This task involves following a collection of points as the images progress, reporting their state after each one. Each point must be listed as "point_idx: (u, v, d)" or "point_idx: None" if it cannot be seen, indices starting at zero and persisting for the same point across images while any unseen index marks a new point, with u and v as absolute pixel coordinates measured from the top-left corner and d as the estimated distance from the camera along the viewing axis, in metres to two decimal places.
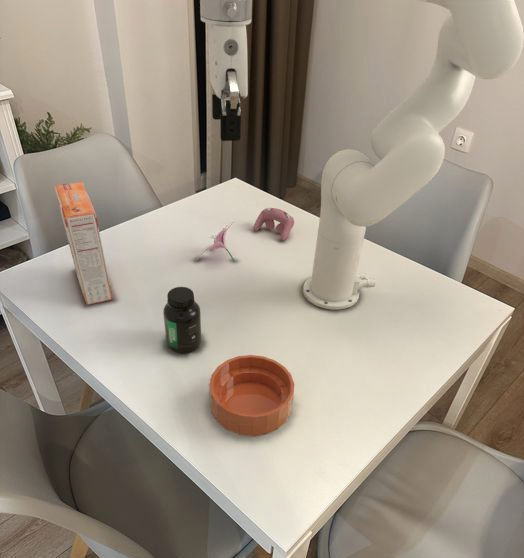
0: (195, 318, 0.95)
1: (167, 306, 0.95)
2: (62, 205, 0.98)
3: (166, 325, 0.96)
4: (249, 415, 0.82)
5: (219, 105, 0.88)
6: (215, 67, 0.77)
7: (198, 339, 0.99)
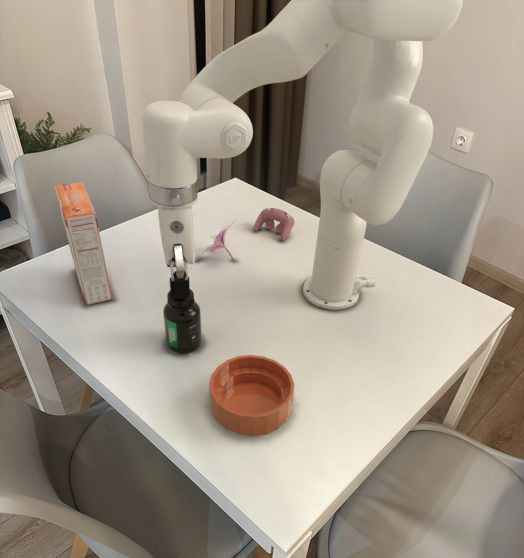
0: (195, 318, 0.95)
1: (167, 306, 0.95)
2: (62, 205, 0.98)
3: (166, 325, 0.96)
4: (249, 415, 0.82)
5: None
6: (163, 241, 0.81)
7: (198, 339, 0.99)
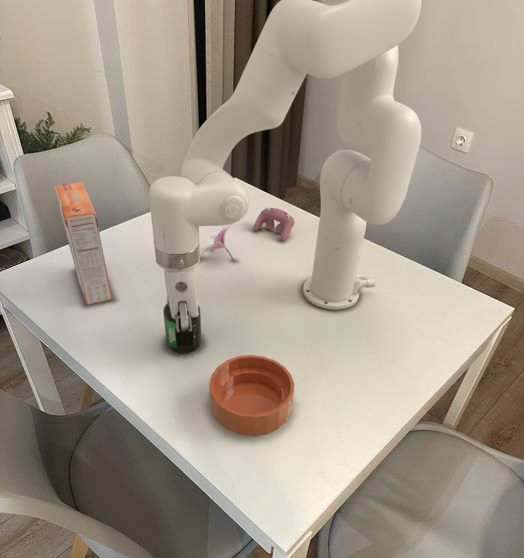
0: (195, 318, 0.95)
1: (167, 306, 0.95)
2: (62, 205, 0.98)
3: (166, 325, 0.96)
4: (249, 415, 0.82)
5: None
6: (169, 298, 0.89)
7: (198, 339, 0.99)
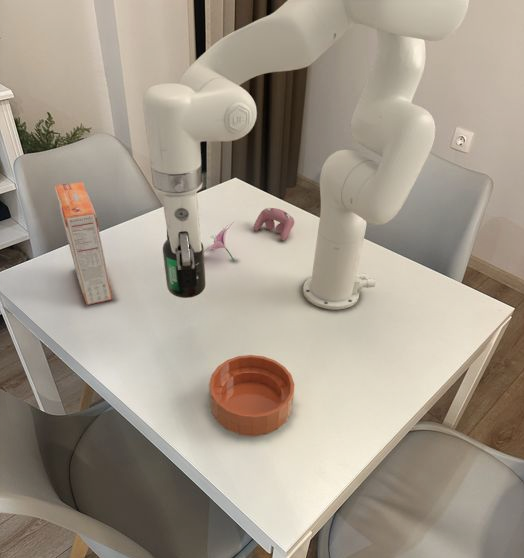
0: (198, 256, 0.85)
1: (167, 242, 0.85)
2: (62, 205, 0.98)
3: (166, 264, 0.86)
4: (249, 415, 0.82)
5: None
6: (168, 229, 0.79)
7: (202, 281, 0.90)
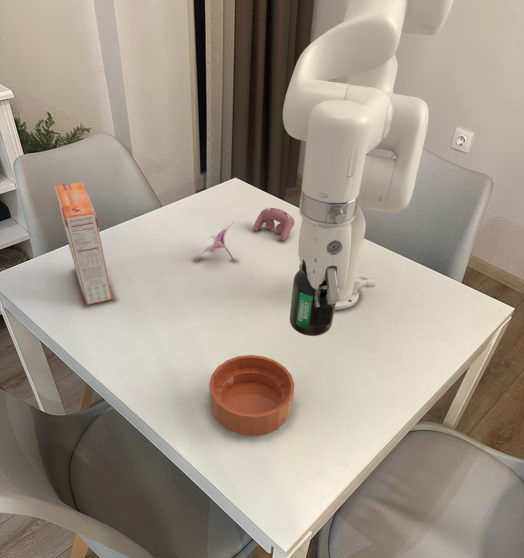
0: None
1: (300, 275, 0.76)
2: (62, 205, 0.98)
3: (297, 299, 0.77)
4: (249, 415, 0.82)
5: None
6: (314, 263, 0.70)
7: (332, 318, 0.80)
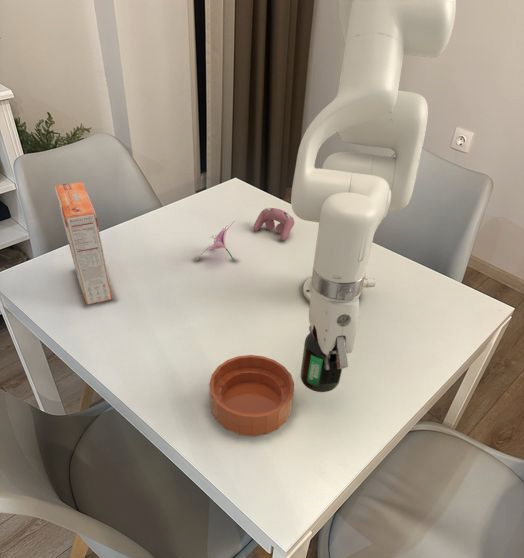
0: None
1: (311, 339, 0.83)
2: (62, 205, 0.98)
3: (308, 360, 0.83)
4: (249, 415, 0.82)
5: None
6: (324, 332, 0.77)
7: (340, 375, 0.87)
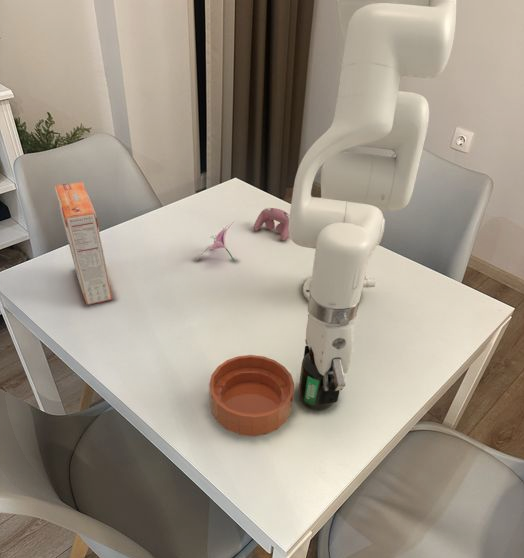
0: None
1: (308, 361, 0.86)
2: (62, 205, 0.98)
3: (305, 381, 0.87)
4: (249, 415, 0.82)
5: None
6: (321, 354, 0.80)
7: None
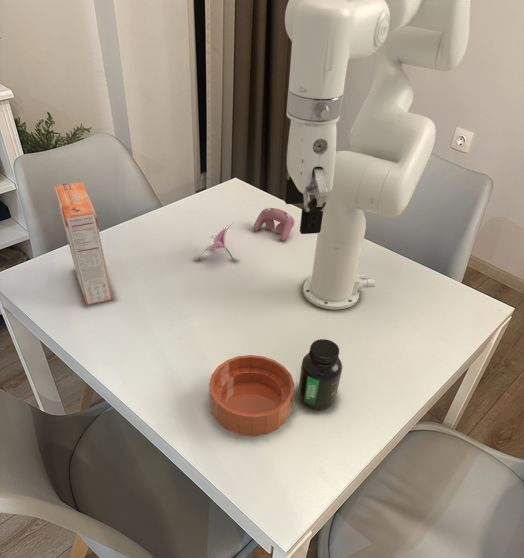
0: (339, 374, 0.86)
1: (308, 361, 0.86)
2: (62, 205, 0.98)
3: (305, 381, 0.87)
4: (249, 415, 0.82)
5: (293, 191, 0.84)
6: (301, 164, 0.73)
7: None
